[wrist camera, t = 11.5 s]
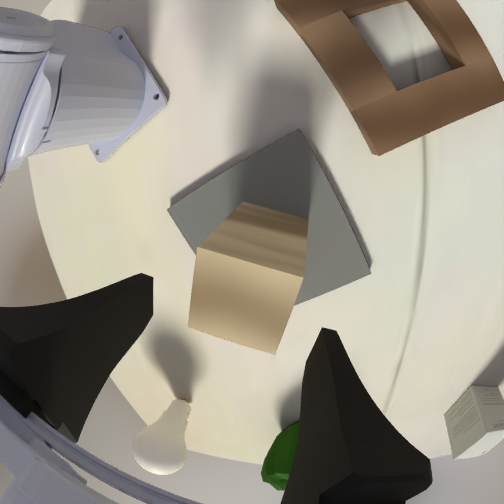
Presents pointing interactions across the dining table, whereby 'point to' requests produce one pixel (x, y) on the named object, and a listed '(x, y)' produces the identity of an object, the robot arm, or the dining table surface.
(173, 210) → the mat
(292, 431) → the bell pepper
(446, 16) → the holder
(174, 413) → the lightbulb
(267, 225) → the peg
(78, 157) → the dining table surface
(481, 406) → the product box
